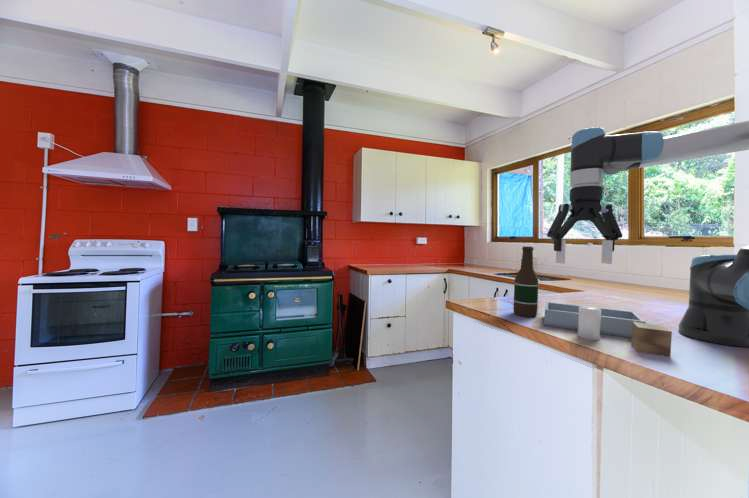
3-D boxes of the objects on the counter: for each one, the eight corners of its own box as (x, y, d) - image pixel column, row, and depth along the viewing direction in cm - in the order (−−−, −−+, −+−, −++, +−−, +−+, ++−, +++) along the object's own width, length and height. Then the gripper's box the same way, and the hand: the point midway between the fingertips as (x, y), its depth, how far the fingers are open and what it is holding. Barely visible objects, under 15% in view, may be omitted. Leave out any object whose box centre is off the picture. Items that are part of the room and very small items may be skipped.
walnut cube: (662, 349, 75) (663, 325, 75) (670, 357, 70) (671, 331, 70) (631, 344, 78) (632, 321, 78) (636, 351, 73) (637, 327, 73)
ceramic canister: (598, 336, 84) (600, 307, 84) (600, 341, 80) (602, 311, 80) (577, 333, 87) (578, 305, 86) (578, 337, 82) (579, 308, 82)
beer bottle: (540, 318, 102) (543, 247, 102) (516, 316, 104) (518, 246, 103) (533, 312, 110) (536, 246, 109) (510, 311, 112) (513, 246, 111)
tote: (633, 327, 93) (634, 311, 93) (644, 340, 82) (645, 321, 81) (545, 316, 105) (546, 301, 105) (544, 325, 94) (544, 309, 94)
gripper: (616, 190, 89) (614, 262, 89) (534, 188, 87) (532, 262, 88) (641, 185, 81) (638, 264, 82) (551, 183, 80) (549, 264, 80)
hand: (583, 263), depth 85 cm, fingers open, 13 cm apart
